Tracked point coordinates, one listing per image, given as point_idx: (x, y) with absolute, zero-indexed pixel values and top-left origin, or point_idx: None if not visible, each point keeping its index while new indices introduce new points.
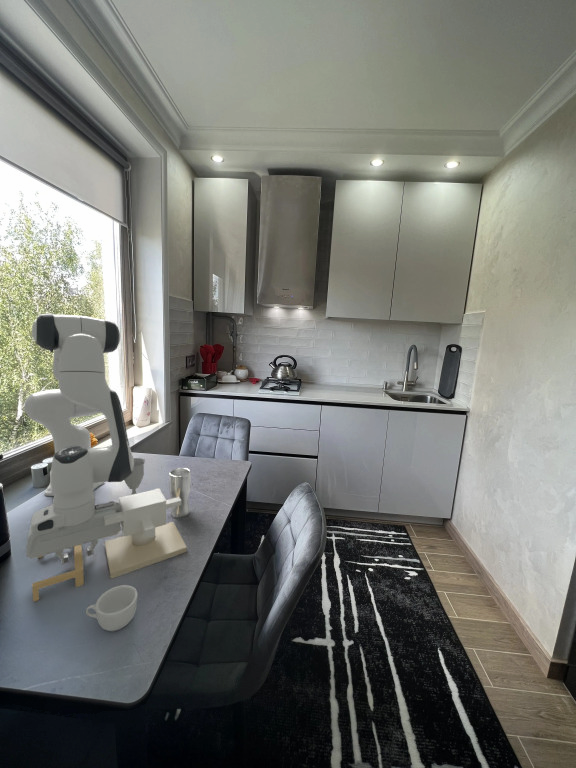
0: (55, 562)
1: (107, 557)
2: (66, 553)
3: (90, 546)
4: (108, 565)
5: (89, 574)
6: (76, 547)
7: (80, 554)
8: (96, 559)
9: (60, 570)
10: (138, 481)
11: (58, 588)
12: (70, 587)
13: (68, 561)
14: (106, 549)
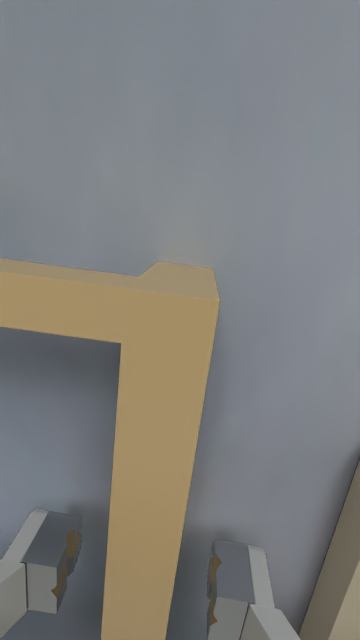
0: (20, 392)
1: (325, 623)
2: (44, 565)
3: (249, 616)
4: (304, 629)
5: (194, 613)
6: (125, 582)
7: None
8: (263, 529)
9: (52, 490)
10: None
11: None
12: (97, 632)
13: (78, 551)
14: (357, 572)
